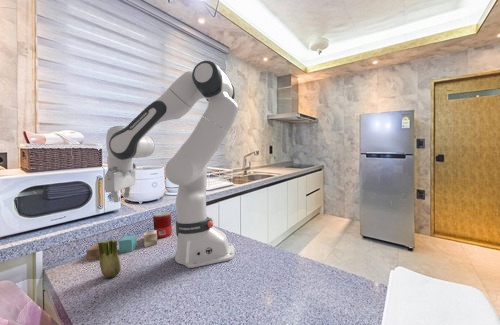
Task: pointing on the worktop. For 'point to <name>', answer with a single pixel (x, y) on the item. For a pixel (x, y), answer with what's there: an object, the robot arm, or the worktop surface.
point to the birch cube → (150, 238)
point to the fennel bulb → (109, 258)
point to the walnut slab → (93, 252)
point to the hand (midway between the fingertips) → (122, 199)
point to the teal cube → (127, 243)
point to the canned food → (162, 224)
